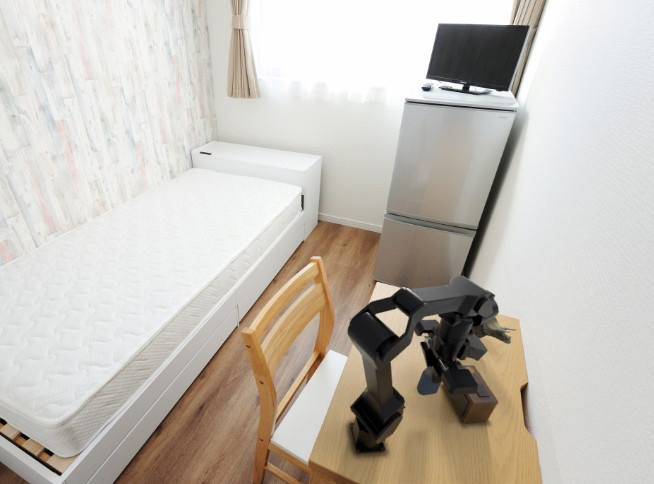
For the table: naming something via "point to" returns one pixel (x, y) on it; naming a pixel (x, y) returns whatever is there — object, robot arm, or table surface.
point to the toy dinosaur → (492, 330)
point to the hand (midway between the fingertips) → (432, 377)
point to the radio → (474, 401)
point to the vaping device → (428, 382)
